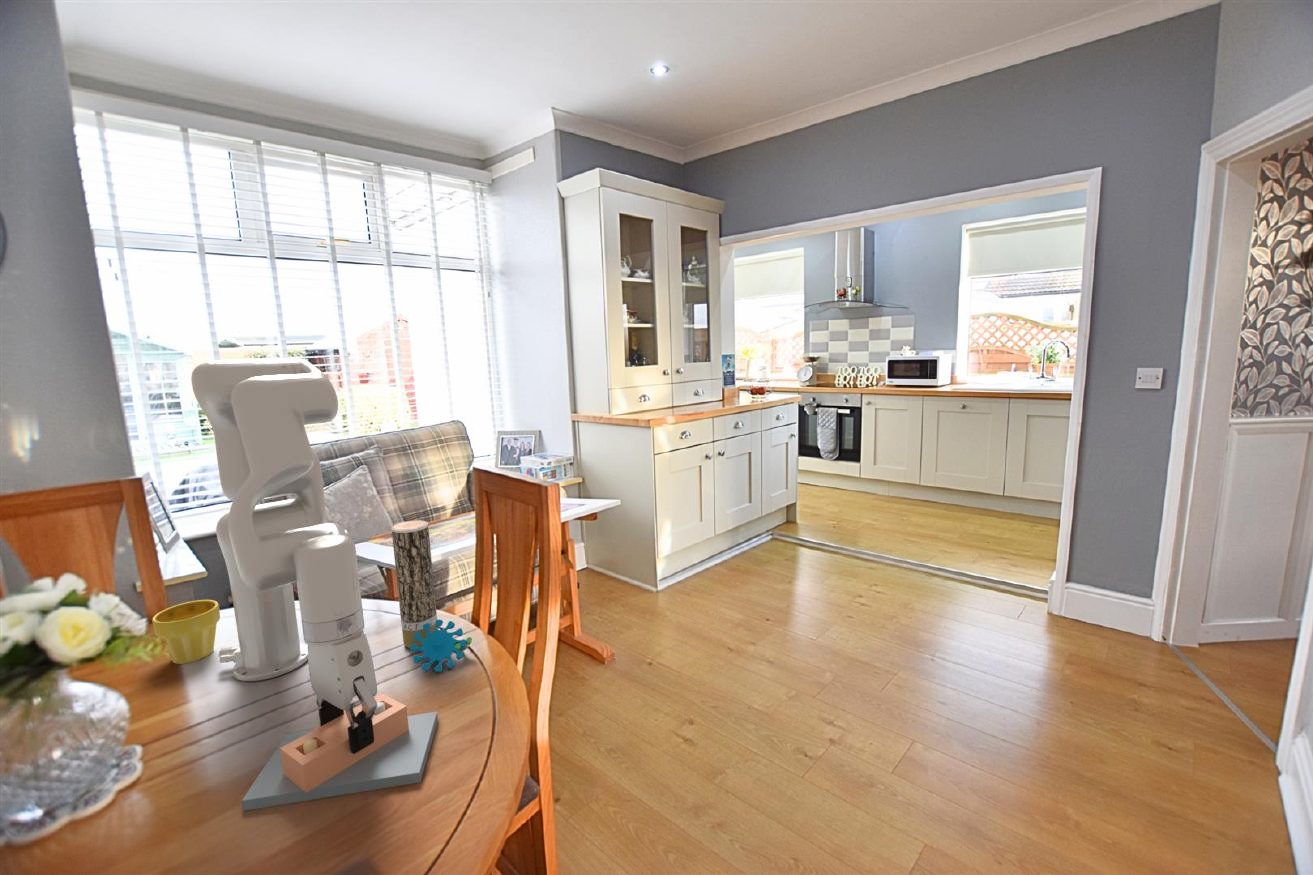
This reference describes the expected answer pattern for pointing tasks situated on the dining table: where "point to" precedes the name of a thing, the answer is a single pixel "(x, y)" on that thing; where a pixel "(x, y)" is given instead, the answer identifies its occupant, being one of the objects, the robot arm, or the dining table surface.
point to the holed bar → (339, 745)
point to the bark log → (414, 579)
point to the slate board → (372, 772)
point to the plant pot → (188, 629)
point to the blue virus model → (439, 645)
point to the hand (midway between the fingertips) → (347, 737)
